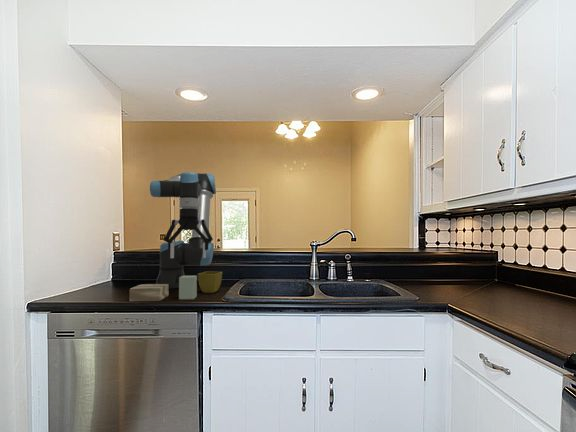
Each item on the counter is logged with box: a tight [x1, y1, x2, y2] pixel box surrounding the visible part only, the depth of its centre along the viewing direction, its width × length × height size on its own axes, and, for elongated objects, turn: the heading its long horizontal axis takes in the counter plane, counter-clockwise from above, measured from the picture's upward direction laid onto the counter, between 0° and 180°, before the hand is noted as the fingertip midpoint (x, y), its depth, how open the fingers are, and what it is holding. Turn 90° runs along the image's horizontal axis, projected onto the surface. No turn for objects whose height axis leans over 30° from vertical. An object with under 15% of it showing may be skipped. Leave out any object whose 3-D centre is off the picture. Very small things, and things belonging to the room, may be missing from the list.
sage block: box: [178, 275, 198, 300], centre depth 145 cm, size 6×6×9 cm
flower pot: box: [197, 271, 223, 294], centre depth 158 cm, size 9×9×9 cm
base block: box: [128, 283, 170, 302], centre depth 144 cm, size 12×12×5 cm
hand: (188, 258), depth 145 cm, fingers open, 13 cm apart
